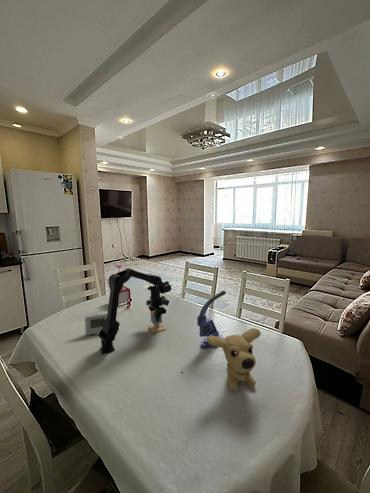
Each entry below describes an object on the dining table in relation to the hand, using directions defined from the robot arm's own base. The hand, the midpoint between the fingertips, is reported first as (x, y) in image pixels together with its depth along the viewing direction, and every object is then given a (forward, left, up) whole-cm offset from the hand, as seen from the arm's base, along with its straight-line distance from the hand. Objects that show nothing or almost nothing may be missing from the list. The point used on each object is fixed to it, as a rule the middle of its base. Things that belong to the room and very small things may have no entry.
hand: (156, 319), depth 144 cm
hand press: (-30, -21, -6) cm, 37 cm away
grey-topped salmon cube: (0, 0, -2) cm, 2 cm away
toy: (-59, -13, -6) cm, 61 cm away
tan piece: (0, 0, -6) cm, 6 cm away
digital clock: (+14, +31, -6) cm, 35 cm away
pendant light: (+54, +9, -6) cm, 55 cm away
